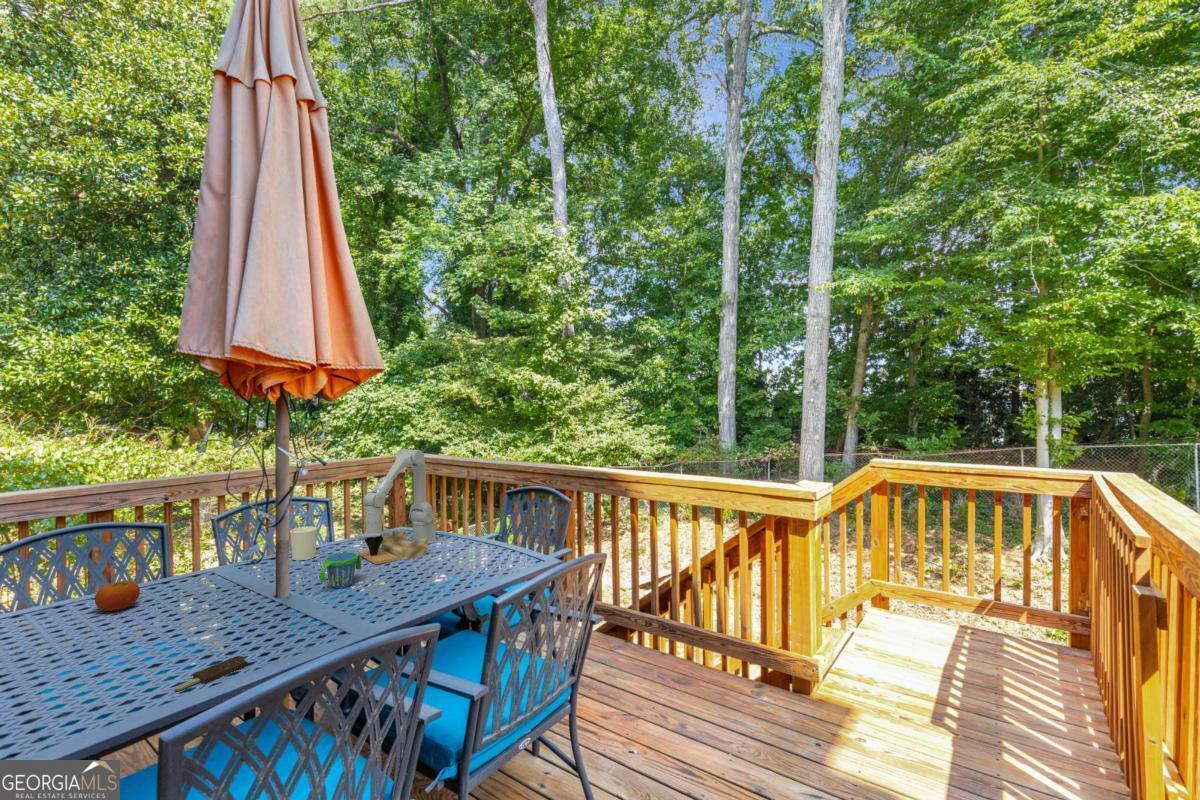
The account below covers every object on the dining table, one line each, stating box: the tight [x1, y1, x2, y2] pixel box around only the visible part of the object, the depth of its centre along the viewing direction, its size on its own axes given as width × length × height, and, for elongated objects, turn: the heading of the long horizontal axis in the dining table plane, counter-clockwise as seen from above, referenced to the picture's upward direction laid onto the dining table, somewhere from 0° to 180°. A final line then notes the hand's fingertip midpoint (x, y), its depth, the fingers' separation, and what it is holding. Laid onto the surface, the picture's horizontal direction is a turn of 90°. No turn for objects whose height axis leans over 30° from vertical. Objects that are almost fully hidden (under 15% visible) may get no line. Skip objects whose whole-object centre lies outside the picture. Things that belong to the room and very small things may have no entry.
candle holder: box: [289, 525, 318, 560], centre depth 215 cm, size 10×10×12 cm
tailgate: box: [357, 547, 399, 565], centre depth 216 cm, size 1×18×9 cm
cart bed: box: [381, 529, 429, 561], centre depth 224 cm, size 10×21×7 cm, turn 45°
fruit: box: [94, 580, 141, 612], centre depth 164 cm, size 11×10×8 cm
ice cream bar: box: [174, 655, 249, 692], centre depth 126 cm, size 5×2×15 cm
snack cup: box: [319, 551, 362, 589], centre depth 186 cm, size 16×10×10 cm
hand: (373, 555), depth 215 cm, fingers closed, pressing on tailgate
